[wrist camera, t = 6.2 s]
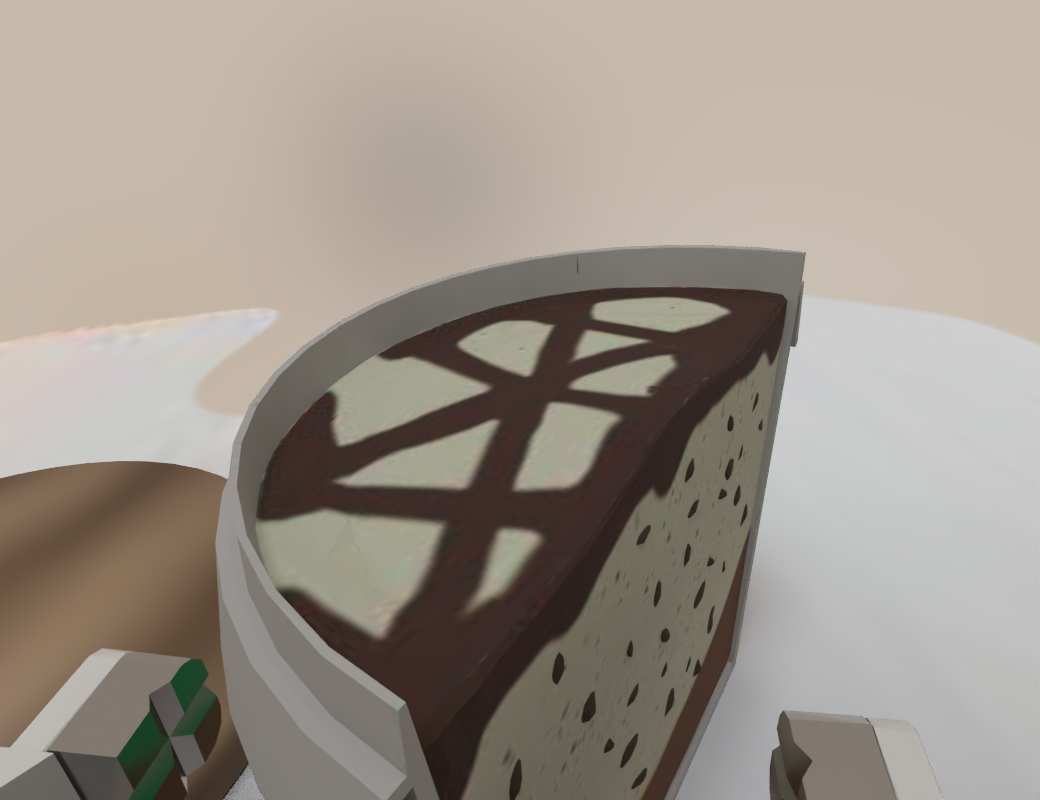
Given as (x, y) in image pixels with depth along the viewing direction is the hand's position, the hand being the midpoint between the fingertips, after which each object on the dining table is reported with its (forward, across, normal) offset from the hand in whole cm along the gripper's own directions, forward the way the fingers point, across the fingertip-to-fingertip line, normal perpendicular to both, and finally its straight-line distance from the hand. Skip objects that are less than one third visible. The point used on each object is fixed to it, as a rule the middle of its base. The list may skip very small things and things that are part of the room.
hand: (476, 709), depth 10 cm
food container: (+3, 0, +6) cm, 7 cm away
